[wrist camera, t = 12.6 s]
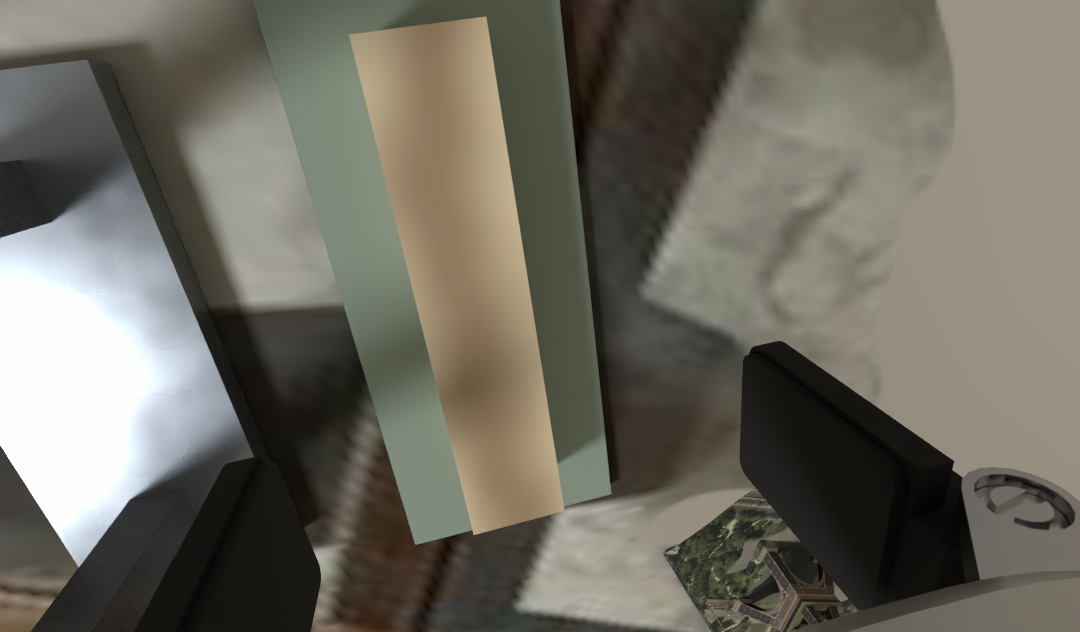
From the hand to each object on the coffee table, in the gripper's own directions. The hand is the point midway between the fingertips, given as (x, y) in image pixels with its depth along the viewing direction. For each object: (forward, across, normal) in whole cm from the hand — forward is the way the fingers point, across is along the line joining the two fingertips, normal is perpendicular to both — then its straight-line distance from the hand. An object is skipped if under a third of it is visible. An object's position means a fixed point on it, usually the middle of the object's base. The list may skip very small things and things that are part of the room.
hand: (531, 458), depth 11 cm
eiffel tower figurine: (+13, -15, +24) cm, 31 cm away
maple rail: (+12, 0, +1) cm, 12 cm away
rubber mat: (+13, 0, +1) cm, 13 cm away
